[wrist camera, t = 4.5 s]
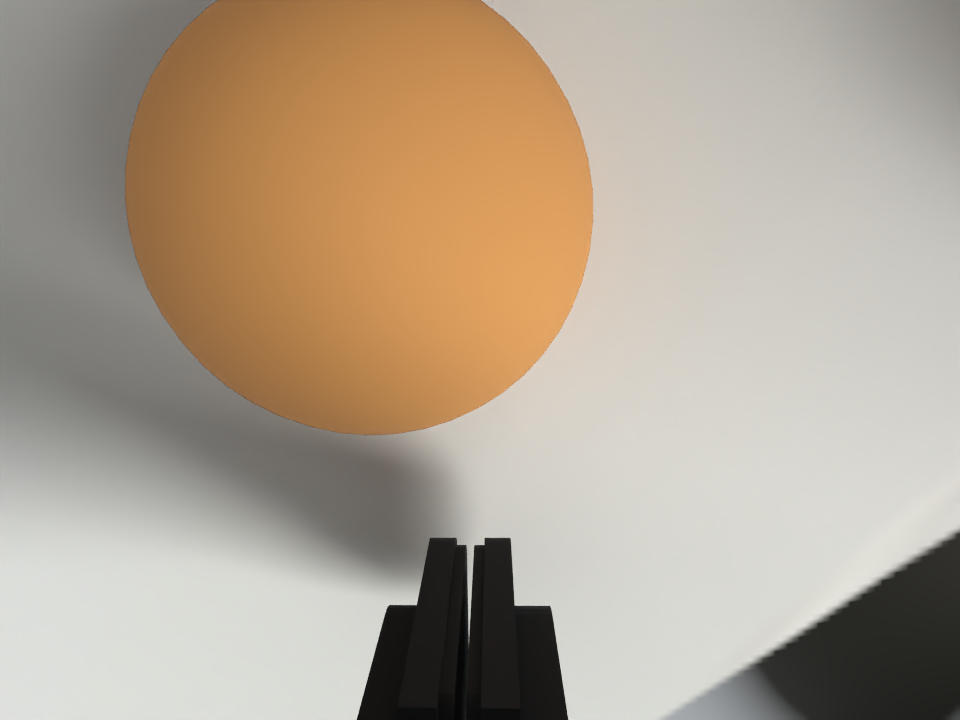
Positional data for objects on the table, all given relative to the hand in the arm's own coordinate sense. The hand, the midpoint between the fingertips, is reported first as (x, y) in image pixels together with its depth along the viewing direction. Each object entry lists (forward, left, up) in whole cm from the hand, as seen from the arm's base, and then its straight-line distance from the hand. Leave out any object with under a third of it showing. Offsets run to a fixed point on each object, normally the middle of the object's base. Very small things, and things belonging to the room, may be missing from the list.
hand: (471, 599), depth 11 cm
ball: (+1, -8, +2) cm, 8 cm away
